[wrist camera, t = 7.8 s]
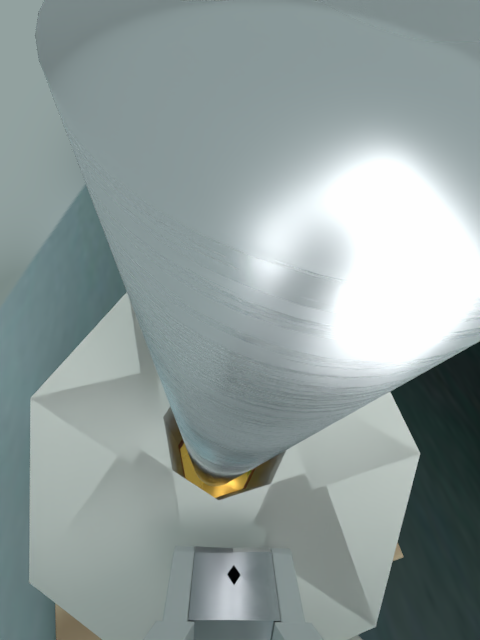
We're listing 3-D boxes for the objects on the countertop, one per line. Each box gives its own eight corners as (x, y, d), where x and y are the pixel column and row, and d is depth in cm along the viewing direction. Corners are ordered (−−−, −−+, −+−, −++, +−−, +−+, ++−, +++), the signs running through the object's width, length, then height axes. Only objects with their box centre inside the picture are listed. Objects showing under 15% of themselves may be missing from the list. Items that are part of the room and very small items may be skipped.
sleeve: (372, 546, 16) (482, 579, 9) (110, 648, 13) (27, 782, 7) (288, 327, 21) (324, 256, 15) (89, 369, 18) (30, 306, 12)
